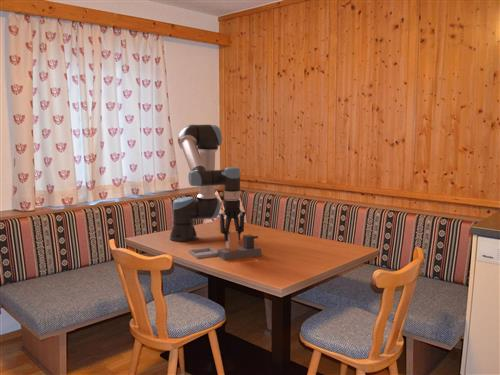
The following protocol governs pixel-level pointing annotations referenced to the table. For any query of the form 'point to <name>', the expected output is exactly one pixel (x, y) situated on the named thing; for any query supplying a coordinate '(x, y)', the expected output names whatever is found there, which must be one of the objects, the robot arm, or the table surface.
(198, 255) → the tray
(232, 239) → the plug
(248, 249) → the strip
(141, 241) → the table surface
